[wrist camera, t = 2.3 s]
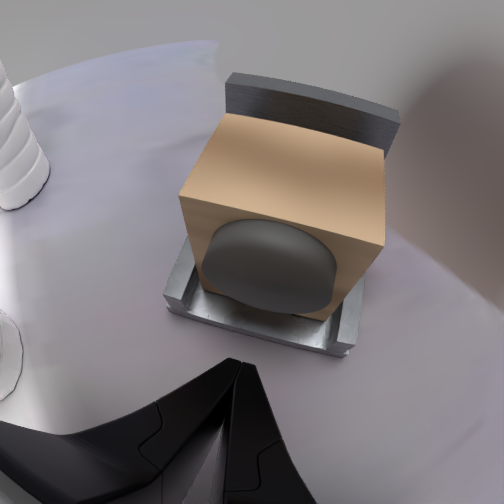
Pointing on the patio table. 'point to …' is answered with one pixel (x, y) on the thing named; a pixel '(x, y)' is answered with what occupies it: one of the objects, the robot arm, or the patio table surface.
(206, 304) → the grey open holder
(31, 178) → the water bottle
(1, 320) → the white cup
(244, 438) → the robot arm
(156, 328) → the patio table surface
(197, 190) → the tan box
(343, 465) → the patio table surface
